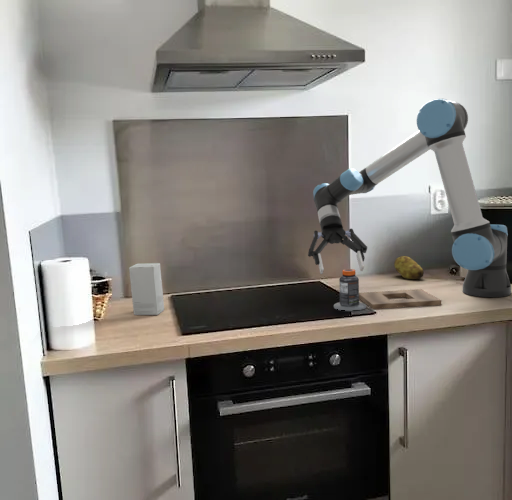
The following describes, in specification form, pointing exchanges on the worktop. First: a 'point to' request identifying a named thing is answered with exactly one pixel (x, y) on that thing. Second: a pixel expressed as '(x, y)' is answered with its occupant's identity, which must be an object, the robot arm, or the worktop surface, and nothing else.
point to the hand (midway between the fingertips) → (342, 270)
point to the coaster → (339, 307)
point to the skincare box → (146, 289)
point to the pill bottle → (349, 288)
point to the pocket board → (413, 299)
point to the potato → (408, 268)
